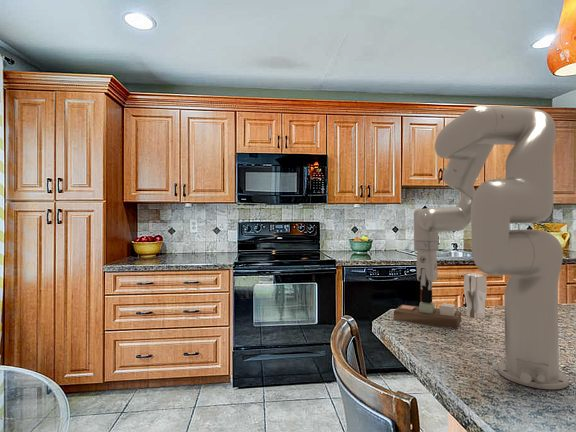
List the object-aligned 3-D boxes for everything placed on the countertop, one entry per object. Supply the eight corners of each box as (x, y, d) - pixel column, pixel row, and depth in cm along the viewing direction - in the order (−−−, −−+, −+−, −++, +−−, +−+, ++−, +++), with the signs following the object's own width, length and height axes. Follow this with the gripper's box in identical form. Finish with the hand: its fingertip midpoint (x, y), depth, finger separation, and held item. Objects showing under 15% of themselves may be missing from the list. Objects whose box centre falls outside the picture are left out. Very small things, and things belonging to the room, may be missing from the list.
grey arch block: (488, 317, 122) (487, 274, 122) (486, 322, 116) (486, 277, 116) (465, 315, 126) (464, 272, 126) (463, 319, 120) (462, 275, 120)
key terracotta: (412, 319, 117) (412, 309, 117) (400, 317, 119) (400, 307, 119) (415, 316, 120) (415, 306, 120) (403, 314, 122) (403, 305, 122)
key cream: (453, 317, 110) (453, 307, 110) (439, 315, 112) (439, 305, 112) (455, 314, 113) (455, 304, 113) (441, 313, 116) (441, 303, 116)
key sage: (432, 314, 113) (432, 304, 113) (419, 313, 115) (419, 303, 115) (434, 312, 117) (434, 302, 117) (422, 310, 119) (421, 301, 119)
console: (457, 332, 107) (457, 318, 107) (393, 322, 117) (393, 310, 117) (461, 323, 115) (461, 311, 115) (401, 315, 125) (401, 304, 125)
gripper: (434, 248, 108) (434, 308, 108) (442, 245, 121) (442, 298, 121) (408, 247, 112) (409, 305, 112) (419, 244, 125) (419, 296, 125)
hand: (426, 301), depth 116 cm, fingers closed
